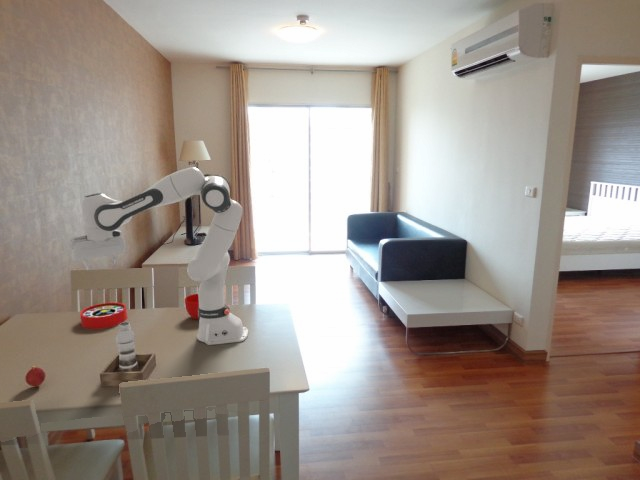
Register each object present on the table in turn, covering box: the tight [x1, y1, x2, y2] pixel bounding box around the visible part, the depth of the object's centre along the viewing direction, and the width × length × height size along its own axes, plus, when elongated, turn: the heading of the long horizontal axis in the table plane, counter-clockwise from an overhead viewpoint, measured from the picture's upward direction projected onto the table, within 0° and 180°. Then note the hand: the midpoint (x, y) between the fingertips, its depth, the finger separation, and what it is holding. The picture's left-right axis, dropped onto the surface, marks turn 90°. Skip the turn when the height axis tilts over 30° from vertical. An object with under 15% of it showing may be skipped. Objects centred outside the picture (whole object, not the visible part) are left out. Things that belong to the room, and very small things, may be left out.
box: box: [99, 352, 157, 387], centre depth 157 cm, size 15×15×5 cm
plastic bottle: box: [115, 321, 138, 372], centre depth 155 cm, size 6×7×20 cm
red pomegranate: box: [24, 365, 46, 388], centre depth 149 cm, size 6×6×8 cm
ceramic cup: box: [184, 293, 199, 320], centre depth 213 cm, size 13×17×10 cm
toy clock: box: [79, 302, 128, 330], centre depth 207 cm, size 20×6×20 cm
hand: (101, 267), depth 173 cm, fingers open, 8 cm apart
